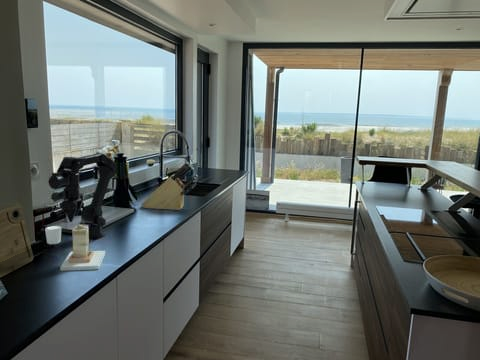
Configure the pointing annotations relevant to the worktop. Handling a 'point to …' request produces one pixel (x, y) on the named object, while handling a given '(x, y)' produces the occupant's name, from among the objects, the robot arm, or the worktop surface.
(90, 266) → the base plate
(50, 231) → the white cup
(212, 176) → the worktop surface
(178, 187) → the knife block
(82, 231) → the maple pillar
